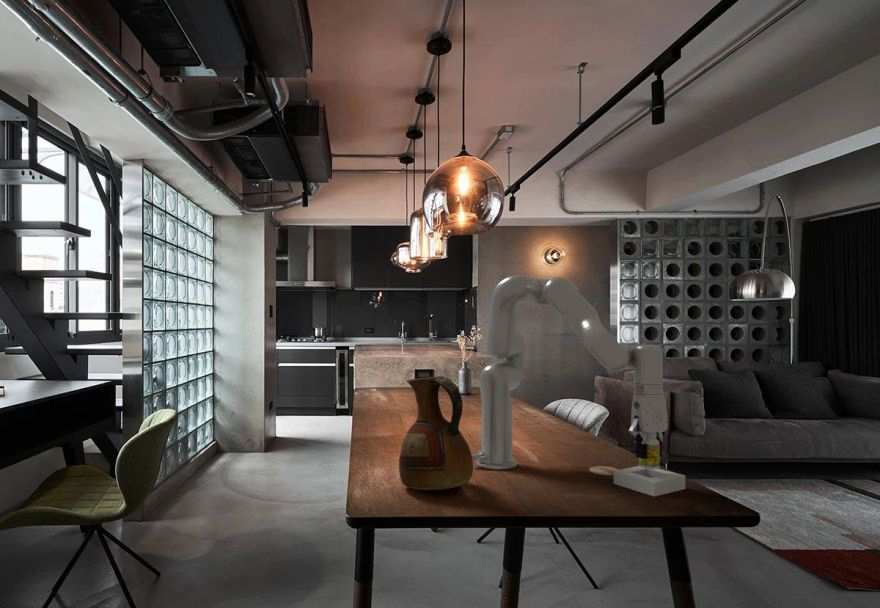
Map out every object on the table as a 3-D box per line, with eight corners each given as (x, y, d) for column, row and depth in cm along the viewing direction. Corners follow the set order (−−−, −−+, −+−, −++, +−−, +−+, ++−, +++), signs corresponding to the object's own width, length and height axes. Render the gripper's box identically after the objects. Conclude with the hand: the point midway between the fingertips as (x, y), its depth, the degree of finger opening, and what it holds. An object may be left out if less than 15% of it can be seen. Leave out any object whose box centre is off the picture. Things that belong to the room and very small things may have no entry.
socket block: (654, 496, 138) (654, 482, 138) (613, 483, 149) (613, 470, 149) (685, 488, 145) (685, 475, 145) (644, 477, 156) (644, 464, 156)
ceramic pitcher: (423, 473, 157) (424, 371, 158) (485, 484, 147) (486, 374, 148) (383, 491, 140) (384, 376, 142) (450, 504, 130) (451, 380, 131)
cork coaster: (612, 478, 156) (612, 476, 156) (584, 472, 162) (584, 470, 162) (625, 472, 162) (625, 470, 162) (598, 466, 169) (598, 464, 169)
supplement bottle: (659, 465, 149) (658, 430, 149) (660, 470, 143) (660, 433, 144) (638, 463, 150) (637, 429, 151) (639, 468, 145) (638, 432, 145)
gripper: (639, 393, 140) (640, 463, 139) (679, 389, 149) (680, 455, 148) (616, 390, 146) (616, 457, 146) (656, 386, 155) (657, 450, 155)
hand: (649, 455), depth 147 cm, fingers closed on supplement bottle, 5 cm apart
